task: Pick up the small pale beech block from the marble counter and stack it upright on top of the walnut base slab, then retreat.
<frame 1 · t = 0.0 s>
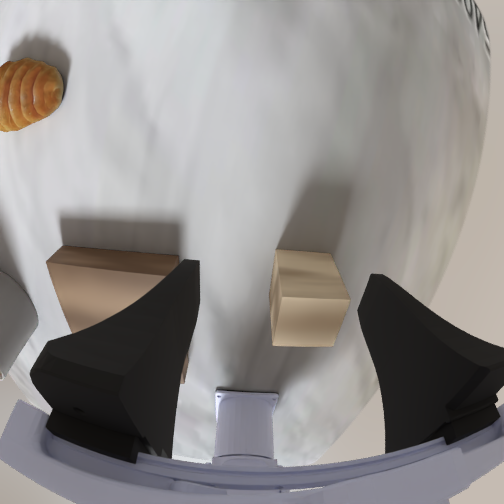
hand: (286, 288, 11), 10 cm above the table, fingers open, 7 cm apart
coffee mug: (7, 290, 25), on the table
beech block: (298, 274, 23), on the table
pastry: (28, 91, 15), on the table
walnut base: (126, 311, 25), on the table
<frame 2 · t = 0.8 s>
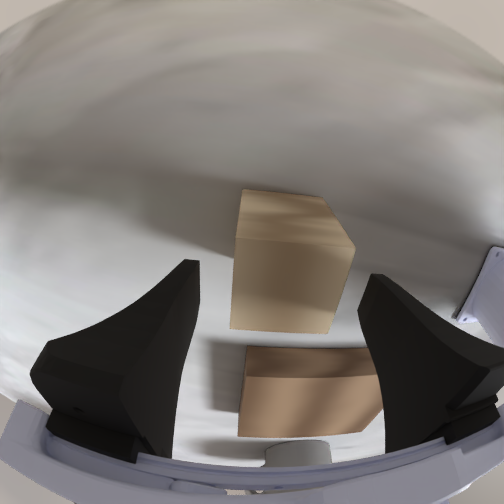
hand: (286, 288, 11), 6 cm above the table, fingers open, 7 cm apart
coffee mug: (286, 450, 34), on the table
beech block: (278, 229, 16), on the table
walnut base: (314, 387, 24), on the table
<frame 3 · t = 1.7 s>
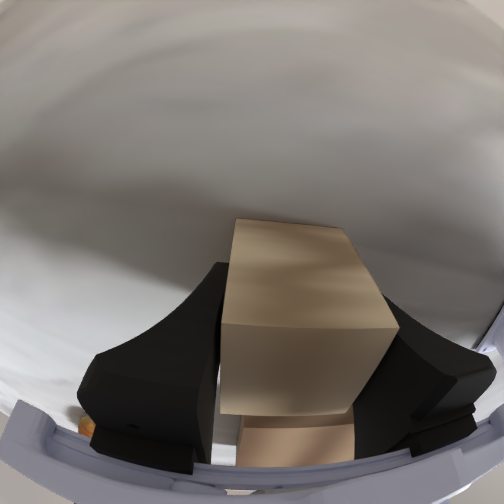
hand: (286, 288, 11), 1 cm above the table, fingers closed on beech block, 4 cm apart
beech block: (283, 269, 12), on the table, touching gripper
pastry: (106, 428, 24), on the table
walnut base: (319, 424, 21), on the table
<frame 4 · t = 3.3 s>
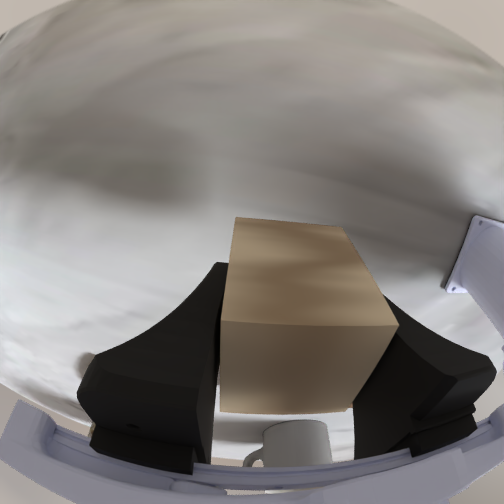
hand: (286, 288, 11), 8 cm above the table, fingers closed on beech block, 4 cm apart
coffee mug: (284, 433, 36), on the table
beech block: (282, 267, 13), point 7 cm above the table, touching gripper
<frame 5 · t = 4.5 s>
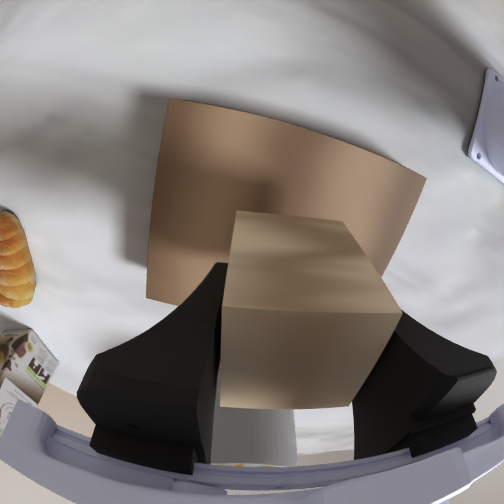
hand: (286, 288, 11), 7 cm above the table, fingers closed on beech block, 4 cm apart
coffee mug: (228, 390, 27), on the table
beech block: (283, 262, 12), point 6 cm above the table, touching gripper
coffee box: (29, 344, 26), on the table
pastry: (15, 255, 20), on the table
walnut base: (275, 219, 17), on the table
when the fingers open (5 cm above the table, at t = 5.2 s): beech block stays where it is, resting on walnut base.
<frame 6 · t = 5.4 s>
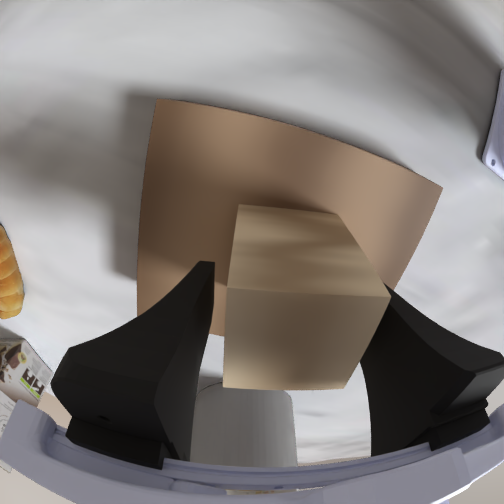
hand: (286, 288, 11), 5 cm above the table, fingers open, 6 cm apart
coffee mug: (227, 404, 26), on the table
beech block: (282, 253, 13), point 3 cm above the table, touching walnut base
coffee box: (23, 354, 25), on the table
pastry: (3, 264, 18), on the table
walnut base: (276, 231, 16), on the table
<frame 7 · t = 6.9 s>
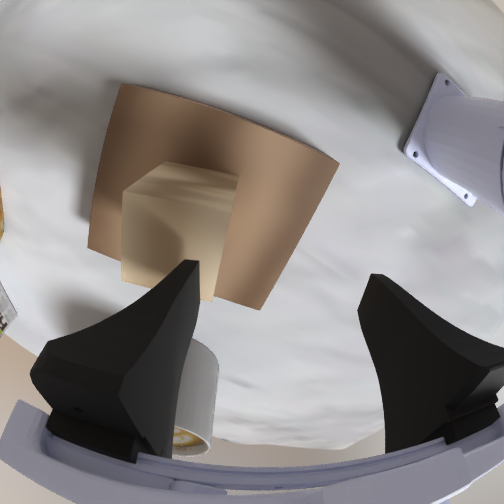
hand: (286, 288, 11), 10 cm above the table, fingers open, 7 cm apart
coffee mug: (161, 358, 29), on the table
beech block: (195, 203, 17), point 3 cm above the table, touching walnut base
walnut base: (202, 192, 19), on the table
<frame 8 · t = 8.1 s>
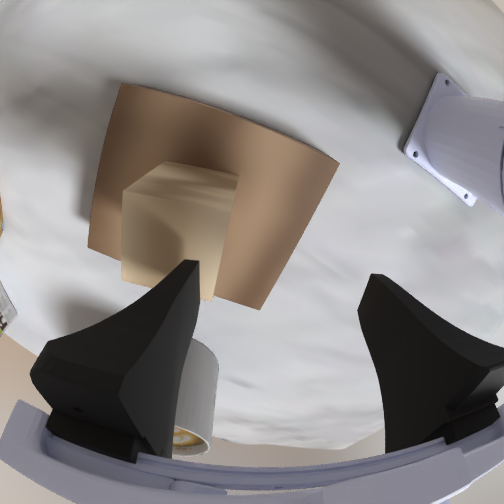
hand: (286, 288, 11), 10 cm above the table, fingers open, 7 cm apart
coffee mug: (161, 357, 29), on the table
beech block: (195, 202, 17), point 3 cm above the table, touching walnut base
walnut base: (202, 192, 19), on the table
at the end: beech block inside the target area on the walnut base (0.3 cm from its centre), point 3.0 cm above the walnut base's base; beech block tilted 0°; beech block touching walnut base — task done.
